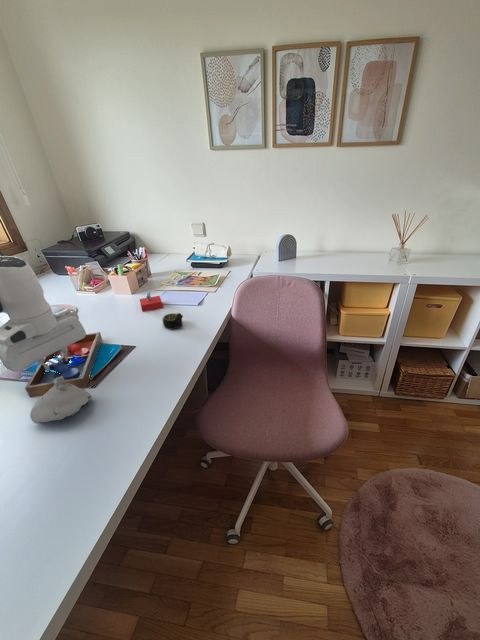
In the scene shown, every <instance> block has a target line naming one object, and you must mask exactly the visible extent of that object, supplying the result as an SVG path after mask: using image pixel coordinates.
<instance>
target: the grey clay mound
mask: <svg viewBox="0 0 480 640" xmlns="http://www.w3.org/2000/svg"><path fill="white" fill-rule="evenodd" d="M89 399H93V396H92V394H91V392H89V391H88V390H86V389H85V388H82V389H81V388H78V387H76V386H75V385H72V384H70V383H65V381H64V378H63V376H60V377H57V378H55V379H54V386H53V387H52V388H51V389H50V390H49V391H48V392H46V393H45V394H44V395H41V396H40V398H39V399H38V400H37V401H36V402H35V403H34V404H33V406H32V408H31V410H30V414H29V415H30V420H31V422H32V423H34V424H40V423H48V422H52V421H61V420H63V419H64V418H66V417H70V416H71V417H73V416H74V415H76V414H77V413H78V412H79V411H80V410H81V407H82V406H84V405H86V404H87V403H88V401H89Z"/></svg>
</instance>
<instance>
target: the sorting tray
mask: <svg viewBox="0 0 480 640" xmlns="http://www.w3.org/2000/svg"><path fill="white" fill-rule="evenodd" d="M102 343H103V337H102V334H101V332H92V333H86V336H85V338H83V339H81V340H79V341H77V342H75V343H74V344H77V345H79V346H80V347H81V348H87V349H88V350H89V352H90V353H89V354H88V355H81V356H74V357H79V358H84V359H85V360H86V361H85V362H84V363H82V364H79V365H76V366H70V365H68V366H69V367H70V369H72V368H77V369H78V370H79V372H80V375H81V374H82V375H81V376H79V377H78V378H75V379H69V380H64V381H65V383H70V384H72V385H75V386H76V387H78V388H81V389H87V388H88V385H89V383H90V380H89V375H90V372H91V370H92V367H93V365H94V362H95V363H96V361H95V359H96V360H97V358H96V356H97V357H98V355H97V352H98V349H99V346H100V344H101V345H102ZM100 347H101V346H100ZM99 350H100V349H99ZM60 353H61V350H59V351H57V352H55V353H53V354H51V355H49V356H47V357H45V358H44V360H45V361H44V363H47V361H48V360H50V359H52V358H57V357H59V356H60ZM98 353H99V352H98ZM54 354H55V355H54ZM57 355H58V356H57ZM73 355H74V353H72V352H70V351H68V352H67V356H66V357H67V359H68V361H67V362H65V363H64V364H66V365H67V364H68V363H69V361H70V359H71V358H73V357H71V356H73ZM53 356H55V357H53ZM56 356H57V357H56ZM55 360H57V361H59V359H55ZM94 366H95V365H94ZM45 370H46V369H45V368H44V366H43V365H42V364H40V363H38V366H37V367H36V369H35V371H34V372H33V374H32V375H31V377H30V378H29V380H28V382H27V384H26V386H25V388H24V390H25V392H26V393H27V394H28V397H30V398H34V397H35V398H36V397H42V396H43V395H44V394H45V393H46V392H48V391H49V390H50V389H51V388H52V387H53V386H54V379H55V378H57V377H60V376H62V374H59V373H57V372H56V373H55V372H51V371H49V372H45ZM44 373H45V374H44Z"/></svg>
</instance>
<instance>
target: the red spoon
mask: <svg viewBox="0 0 480 640" xmlns="http://www.w3.org/2000/svg"><path fill="white" fill-rule="evenodd" d="M67 349H68V351H70V352H72V353H74V355H88V354H89V353H90V352H89V350H88V349H87V348H81V347H80V346H79V345H77V344H74V343H73V344H71V345H69V346H67Z"/></svg>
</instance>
